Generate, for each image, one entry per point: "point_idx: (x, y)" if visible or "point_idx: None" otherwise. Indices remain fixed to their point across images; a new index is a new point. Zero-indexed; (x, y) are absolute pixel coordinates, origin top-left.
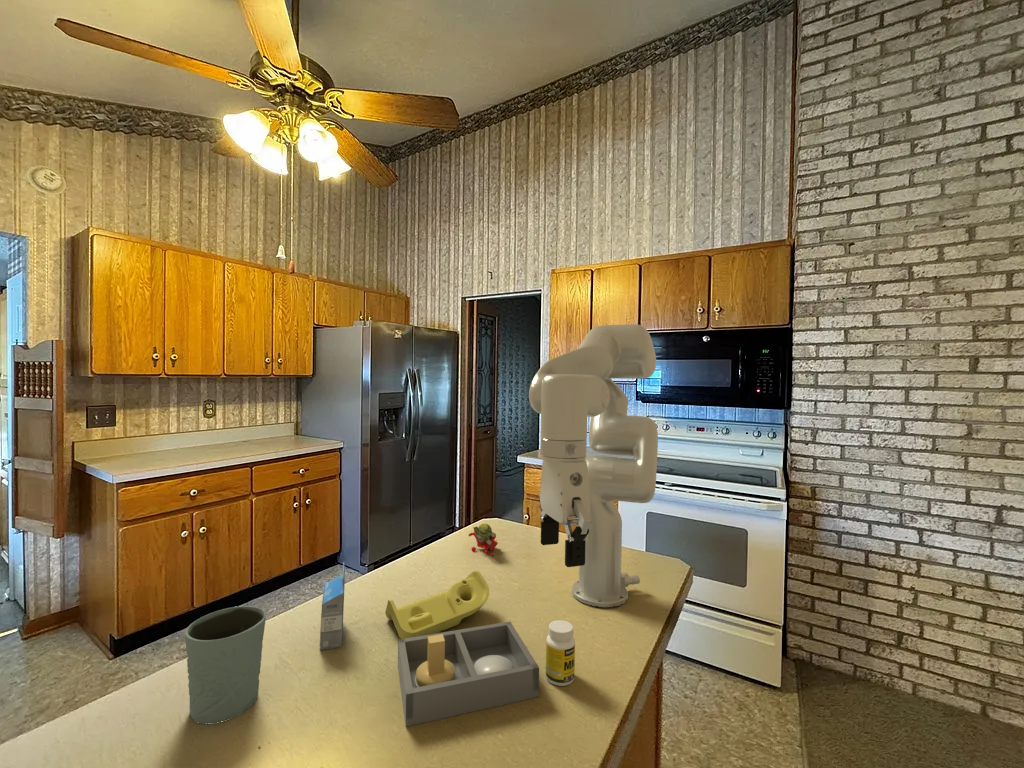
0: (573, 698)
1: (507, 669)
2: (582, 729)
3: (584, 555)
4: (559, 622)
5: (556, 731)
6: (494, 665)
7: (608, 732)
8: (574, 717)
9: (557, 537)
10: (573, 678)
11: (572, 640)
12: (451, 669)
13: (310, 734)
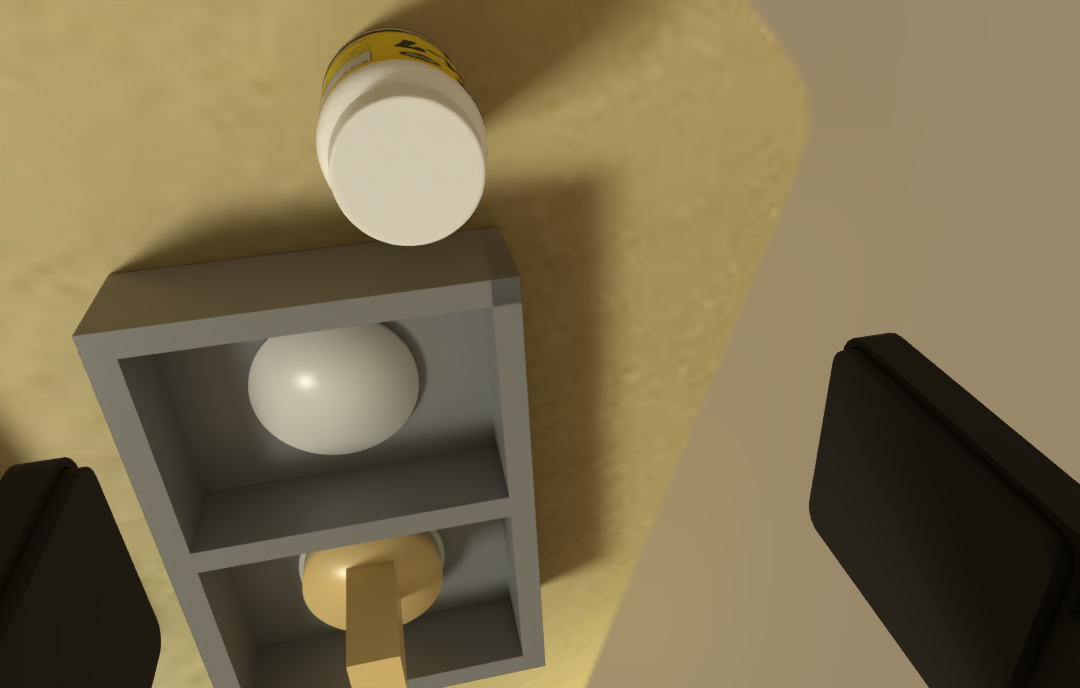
0: (540, 87)
1: (501, 399)
2: (697, 115)
3: (956, 394)
4: (362, 170)
5: (674, 209)
6: (327, 383)
7: (744, 21)
8: (636, 123)
9: (68, 538)
10: (440, 49)
11: (445, 93)
12: (377, 541)
13: None
